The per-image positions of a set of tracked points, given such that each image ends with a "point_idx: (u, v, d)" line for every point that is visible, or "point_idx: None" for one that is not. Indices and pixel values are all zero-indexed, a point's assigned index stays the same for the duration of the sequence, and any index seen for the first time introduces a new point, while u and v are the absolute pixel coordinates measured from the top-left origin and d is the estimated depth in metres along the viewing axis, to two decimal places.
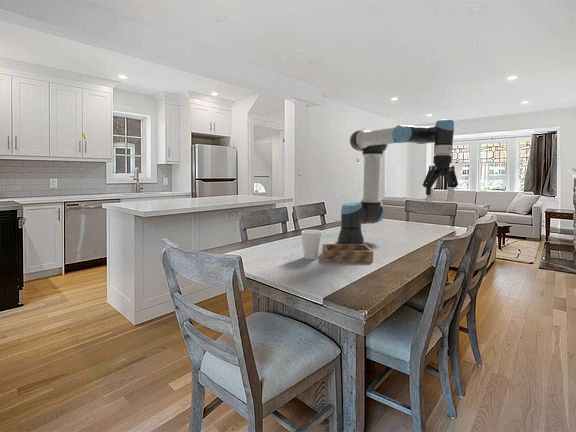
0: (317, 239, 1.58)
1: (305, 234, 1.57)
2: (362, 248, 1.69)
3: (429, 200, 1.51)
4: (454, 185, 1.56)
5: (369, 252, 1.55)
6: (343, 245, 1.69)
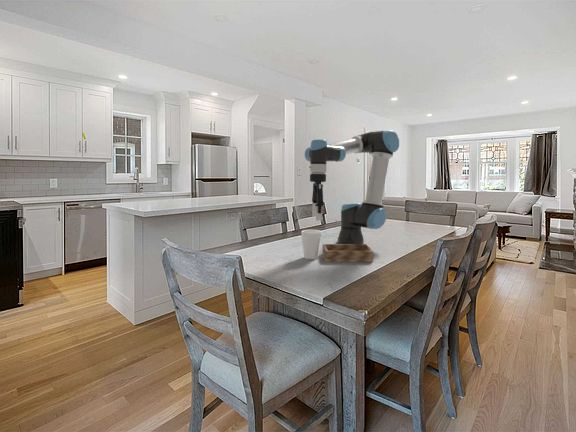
0: (317, 239, 1.58)
1: (305, 234, 1.57)
2: (362, 248, 1.69)
3: None
4: (317, 204, 1.51)
5: (369, 252, 1.55)
6: (343, 245, 1.69)
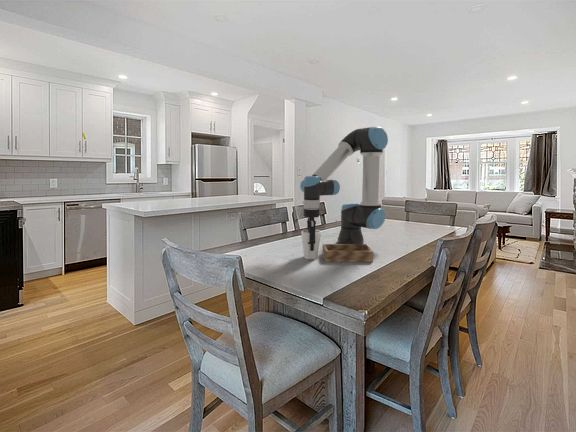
0: (317, 239, 1.58)
1: (305, 234, 1.57)
2: (362, 248, 1.69)
3: None
4: (309, 242, 1.56)
5: (369, 252, 1.55)
6: (343, 245, 1.69)
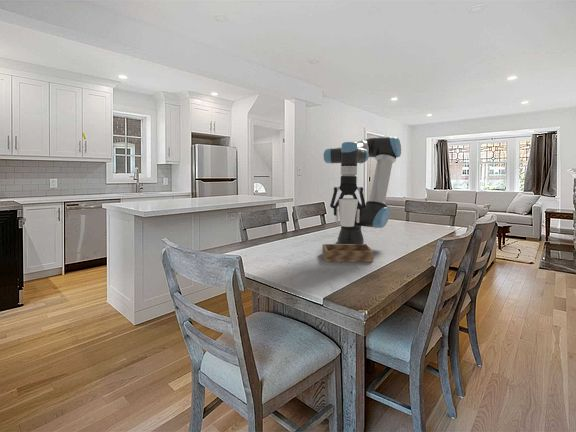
0: None
1: (356, 201, 1.56)
2: (362, 248, 1.69)
3: (336, 220, 1.60)
4: (360, 207, 1.59)
5: (369, 252, 1.55)
6: (343, 245, 1.69)
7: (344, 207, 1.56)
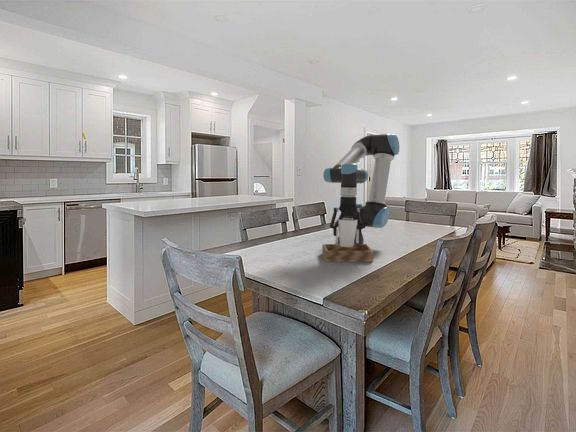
0: None
1: (356, 221, 1.58)
2: (362, 248, 1.69)
3: (335, 241, 1.61)
4: (360, 227, 1.60)
5: (369, 252, 1.55)
6: None
7: (343, 227, 1.57)
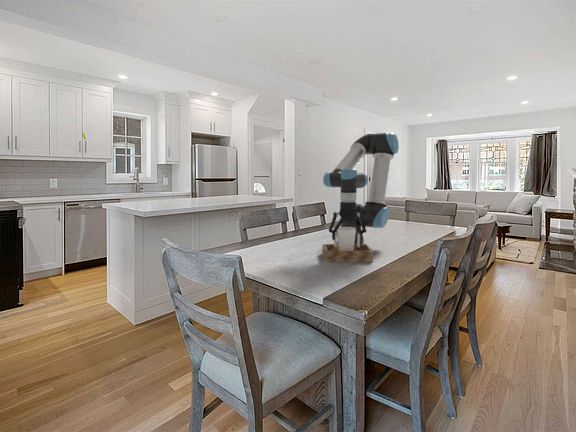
0: None
1: (354, 230, 1.59)
2: (362, 248, 1.69)
3: (334, 245, 1.62)
4: (361, 232, 1.60)
5: (369, 252, 1.55)
6: None
7: (342, 237, 1.58)
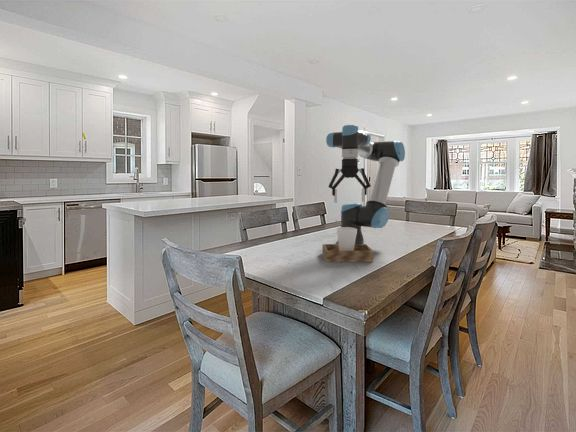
0: None
1: (355, 231, 1.58)
2: (362, 248, 1.69)
3: (334, 200, 1.63)
4: (365, 186, 1.62)
5: (369, 252, 1.55)
6: None
7: (343, 237, 1.58)
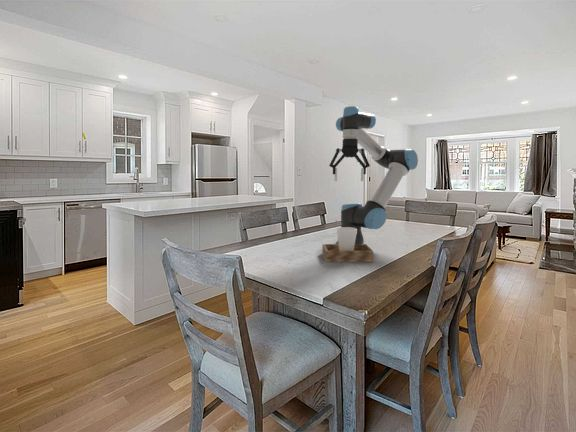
0: None
1: (355, 231, 1.59)
2: (362, 248, 1.69)
3: (335, 179, 1.71)
4: (364, 166, 1.69)
5: (369, 252, 1.55)
6: None
7: (343, 237, 1.58)
